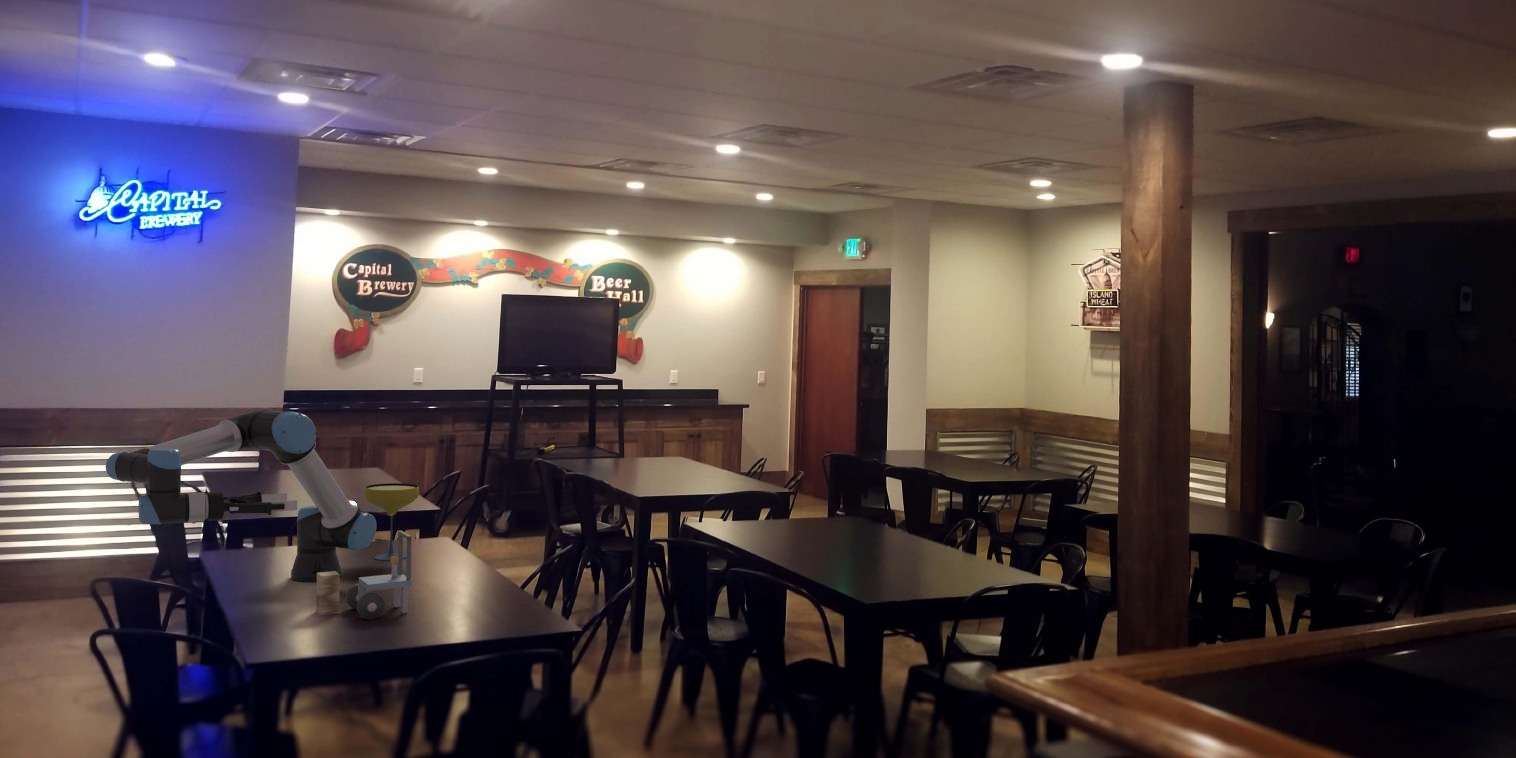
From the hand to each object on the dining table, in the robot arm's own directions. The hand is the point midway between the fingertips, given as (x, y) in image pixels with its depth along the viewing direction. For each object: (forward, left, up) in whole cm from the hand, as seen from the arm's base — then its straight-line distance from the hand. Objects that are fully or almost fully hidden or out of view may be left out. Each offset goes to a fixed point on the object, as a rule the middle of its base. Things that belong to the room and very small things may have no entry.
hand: (292, 501), depth 298 cm
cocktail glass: (-76, -27, -32) cm, 87 cm away
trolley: (-14, +18, -32) cm, 39 cm away
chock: (-8, +6, -32) cm, 33 cm away
